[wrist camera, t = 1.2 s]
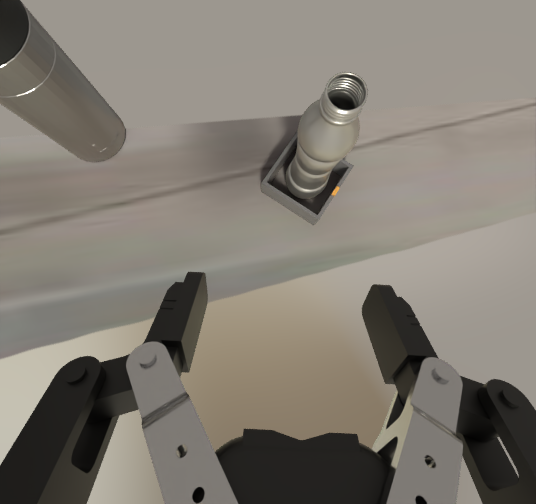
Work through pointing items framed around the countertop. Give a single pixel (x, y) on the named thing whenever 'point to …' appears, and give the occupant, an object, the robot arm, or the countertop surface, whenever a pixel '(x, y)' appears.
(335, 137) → the silver metal bottle
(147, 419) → the robot arm
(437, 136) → the countertop surface
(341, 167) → the socket collar
